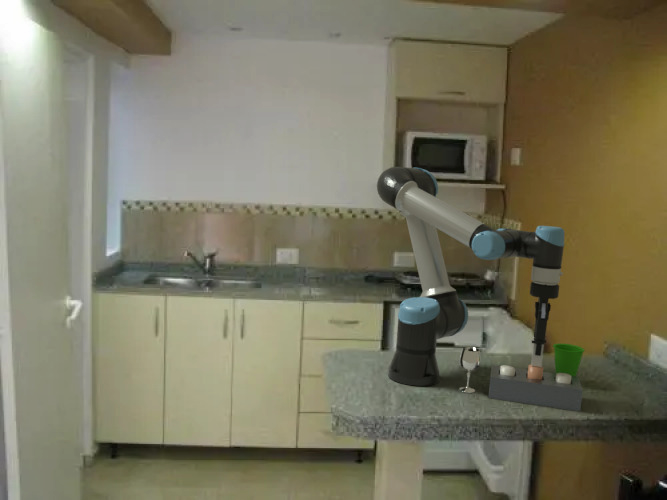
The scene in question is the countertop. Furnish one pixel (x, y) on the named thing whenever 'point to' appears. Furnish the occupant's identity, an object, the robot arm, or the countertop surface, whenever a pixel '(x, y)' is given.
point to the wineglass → (469, 364)
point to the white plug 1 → (507, 370)
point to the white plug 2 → (563, 378)
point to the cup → (567, 358)
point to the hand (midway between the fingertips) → (536, 365)
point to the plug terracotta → (535, 372)
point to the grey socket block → (535, 389)
